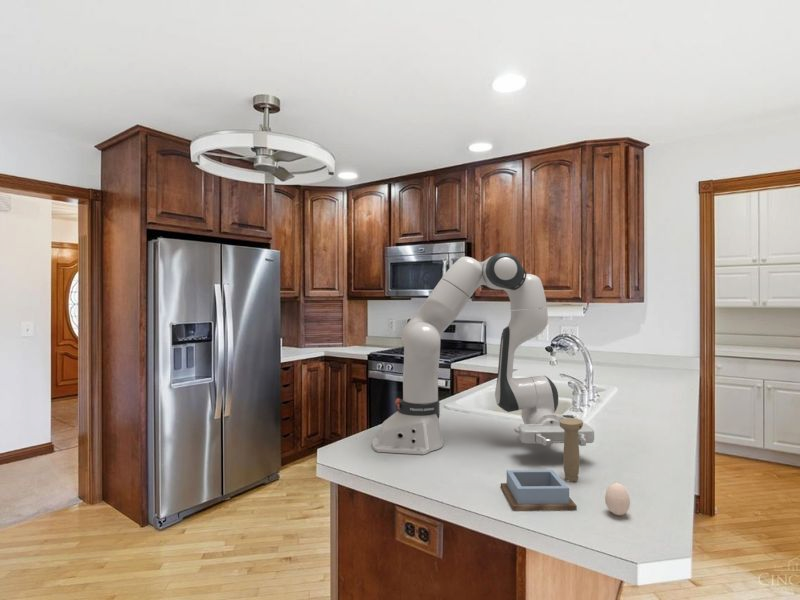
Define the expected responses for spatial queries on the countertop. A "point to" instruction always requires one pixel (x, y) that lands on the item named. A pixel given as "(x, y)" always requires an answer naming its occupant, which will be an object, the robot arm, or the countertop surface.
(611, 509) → the egg
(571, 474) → the handle
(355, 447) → the countertop surface
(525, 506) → the board
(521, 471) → the square frame
